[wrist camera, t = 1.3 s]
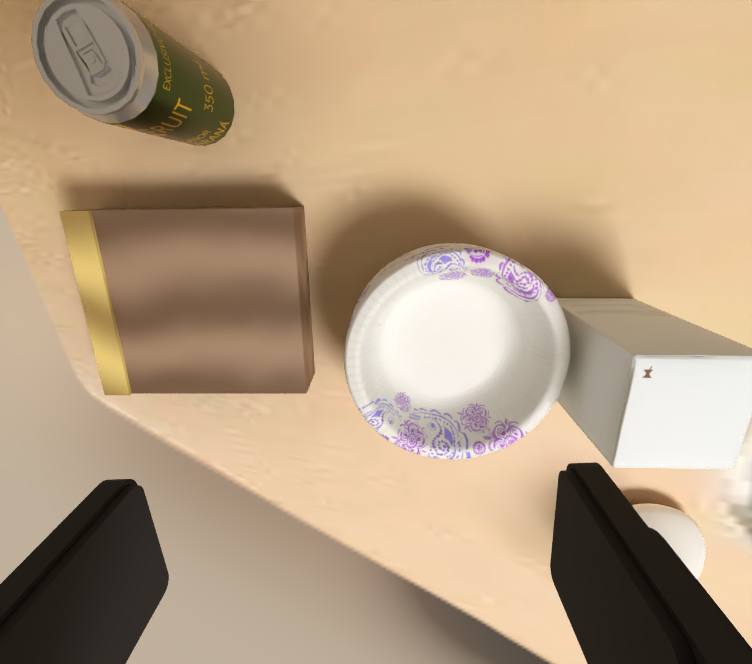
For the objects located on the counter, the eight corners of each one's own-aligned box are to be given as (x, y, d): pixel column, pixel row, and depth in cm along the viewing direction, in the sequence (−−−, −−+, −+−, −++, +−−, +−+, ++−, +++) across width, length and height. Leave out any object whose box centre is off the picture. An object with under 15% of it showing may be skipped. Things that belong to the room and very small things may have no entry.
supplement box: (534, 378, 36) (607, 470, 24) (546, 295, 34) (634, 351, 22) (619, 380, 36) (736, 474, 24) (638, 297, 34) (778, 355, 22)
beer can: (149, 85, 30) (0, 17, 18) (214, 49, 29) (100, -45, 17) (189, 159, 31) (75, 140, 20) (251, 127, 30) (169, 88, 19)
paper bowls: (530, 222, 32) (573, 231, 24) (536, 397, 37) (575, 450, 29) (336, 252, 33) (321, 269, 26) (367, 418, 38) (362, 474, 30)
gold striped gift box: (100, 208, 32) (59, 211, 28) (303, 206, 32) (291, 208, 28) (136, 372, 37) (104, 395, 33) (314, 372, 36) (305, 395, 32)
